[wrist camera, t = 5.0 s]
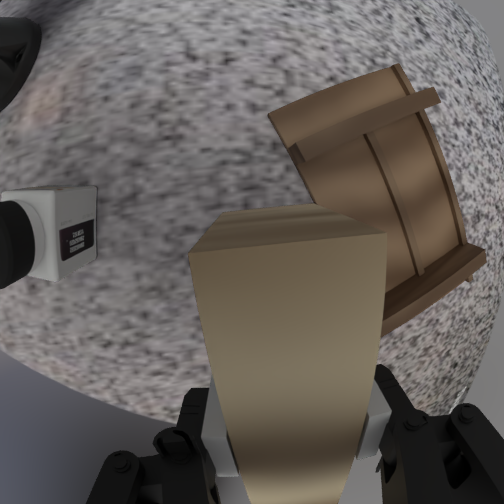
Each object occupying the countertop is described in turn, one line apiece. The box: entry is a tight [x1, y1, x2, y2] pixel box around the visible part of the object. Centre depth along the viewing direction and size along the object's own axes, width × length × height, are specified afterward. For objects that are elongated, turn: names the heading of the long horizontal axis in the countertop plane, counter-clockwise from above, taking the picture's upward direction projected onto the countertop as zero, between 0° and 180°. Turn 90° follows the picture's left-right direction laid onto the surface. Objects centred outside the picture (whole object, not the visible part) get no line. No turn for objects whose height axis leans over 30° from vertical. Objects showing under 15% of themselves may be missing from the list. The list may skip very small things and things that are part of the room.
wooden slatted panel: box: [268, 63, 487, 338], centre depth 23 cm, size 26×15×5 cm, turn 28°
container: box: [0, 185, 97, 289], centre depth 19 cm, size 8×8×13 cm
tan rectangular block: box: [188, 203, 387, 504], centre depth 10 cm, size 14×4×7 cm, turn 6°
